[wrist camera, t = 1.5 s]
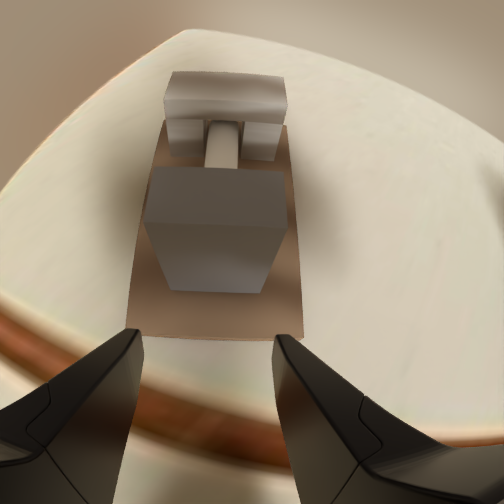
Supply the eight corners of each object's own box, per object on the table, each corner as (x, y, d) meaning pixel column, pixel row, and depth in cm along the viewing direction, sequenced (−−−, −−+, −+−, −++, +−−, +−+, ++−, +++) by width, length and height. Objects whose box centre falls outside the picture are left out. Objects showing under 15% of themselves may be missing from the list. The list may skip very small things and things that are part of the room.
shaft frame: (299, 340, 21) (338, 315, 14) (129, 334, 20) (89, 306, 13) (284, 134, 30) (299, 73, 23) (165, 128, 29) (157, 66, 22)
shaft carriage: (259, 293, 21) (288, 227, 13) (170, 290, 20) (142, 222, 12) (257, 149, 26) (272, 64, 18) (188, 146, 26) (184, 59, 18)
